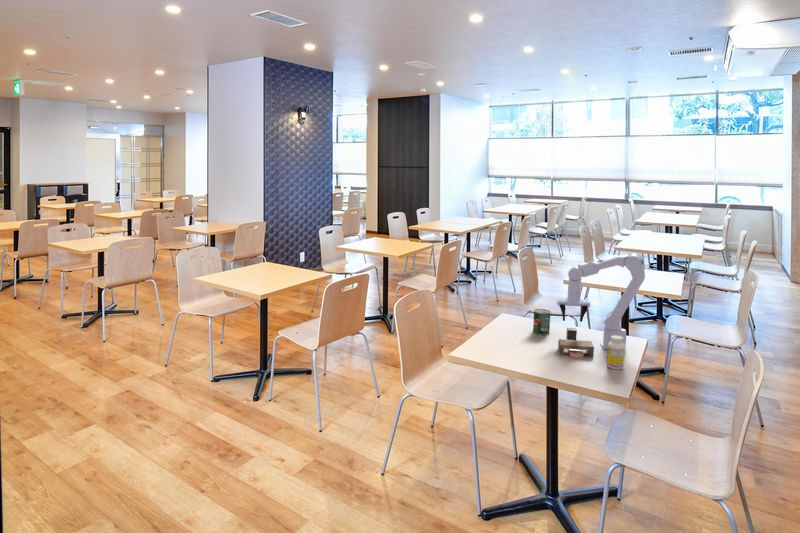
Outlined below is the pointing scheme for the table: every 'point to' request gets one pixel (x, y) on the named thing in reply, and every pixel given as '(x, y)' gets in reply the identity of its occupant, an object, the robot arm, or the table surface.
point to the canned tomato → (541, 321)
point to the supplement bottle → (616, 353)
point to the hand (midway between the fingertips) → (572, 320)
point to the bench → (575, 346)
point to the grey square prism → (571, 336)
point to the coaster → (576, 354)
